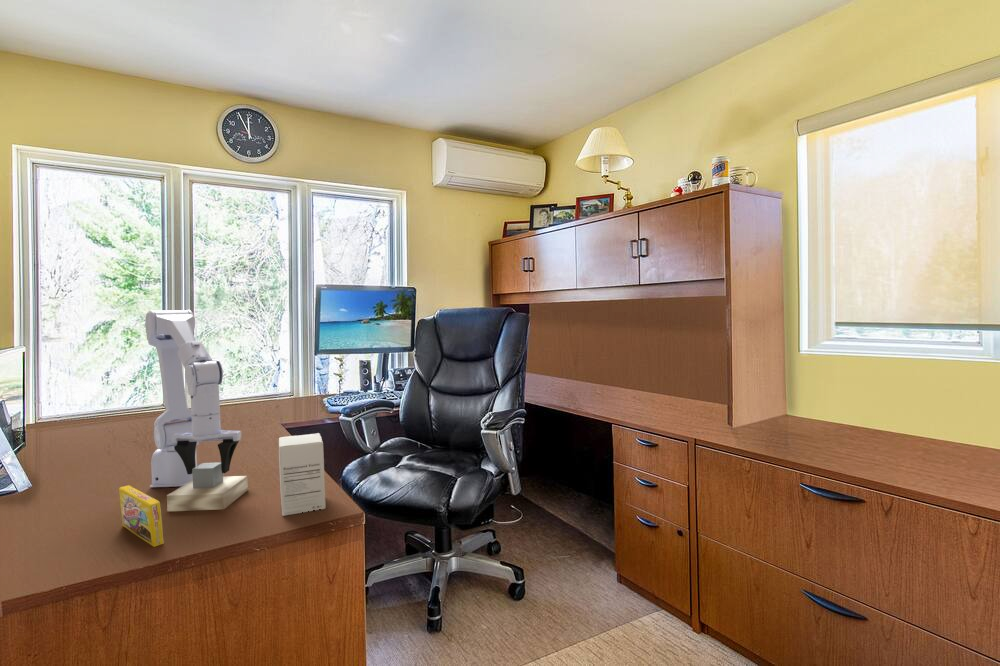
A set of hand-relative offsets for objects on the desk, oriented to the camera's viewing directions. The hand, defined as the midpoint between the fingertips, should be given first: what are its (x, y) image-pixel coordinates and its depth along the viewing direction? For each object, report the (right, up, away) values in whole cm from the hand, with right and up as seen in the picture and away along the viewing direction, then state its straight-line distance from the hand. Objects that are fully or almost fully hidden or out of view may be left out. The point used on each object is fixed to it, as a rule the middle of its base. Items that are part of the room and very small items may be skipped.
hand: (208, 472), depth 118 cm
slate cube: (0, -3, 0) cm, 3 cm away
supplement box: (+23, -6, -4) cm, 25 cm away
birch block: (0, -7, 0) cm, 7 cm away
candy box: (-3, -8, -18) cm, 20 cm away
